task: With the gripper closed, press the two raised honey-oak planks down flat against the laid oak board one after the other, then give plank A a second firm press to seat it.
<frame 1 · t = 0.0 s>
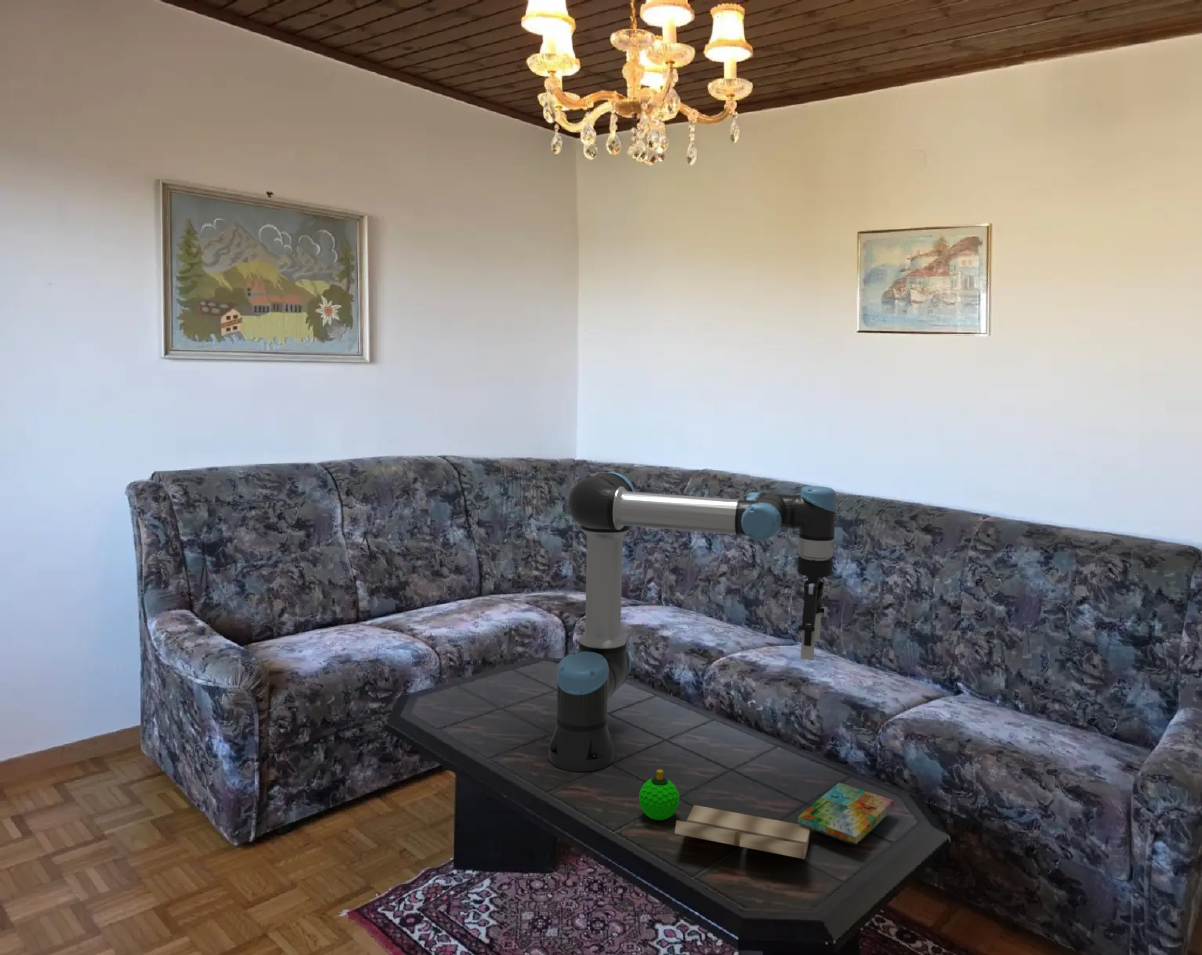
hand: (810, 649, 197), 28 cm above the table, fingers open, 13 cm apart
laid board: (747, 835, 172), on the table
plank b: (773, 845, 162), point 4 cm above the table, hinge at 30.0°
ornament: (658, 818, 178), on the table
puzzle game: (846, 827, 176), on the table, touching laid board
plank a: (708, 833, 165), point 4 cm above the table, hinge at 30.0°
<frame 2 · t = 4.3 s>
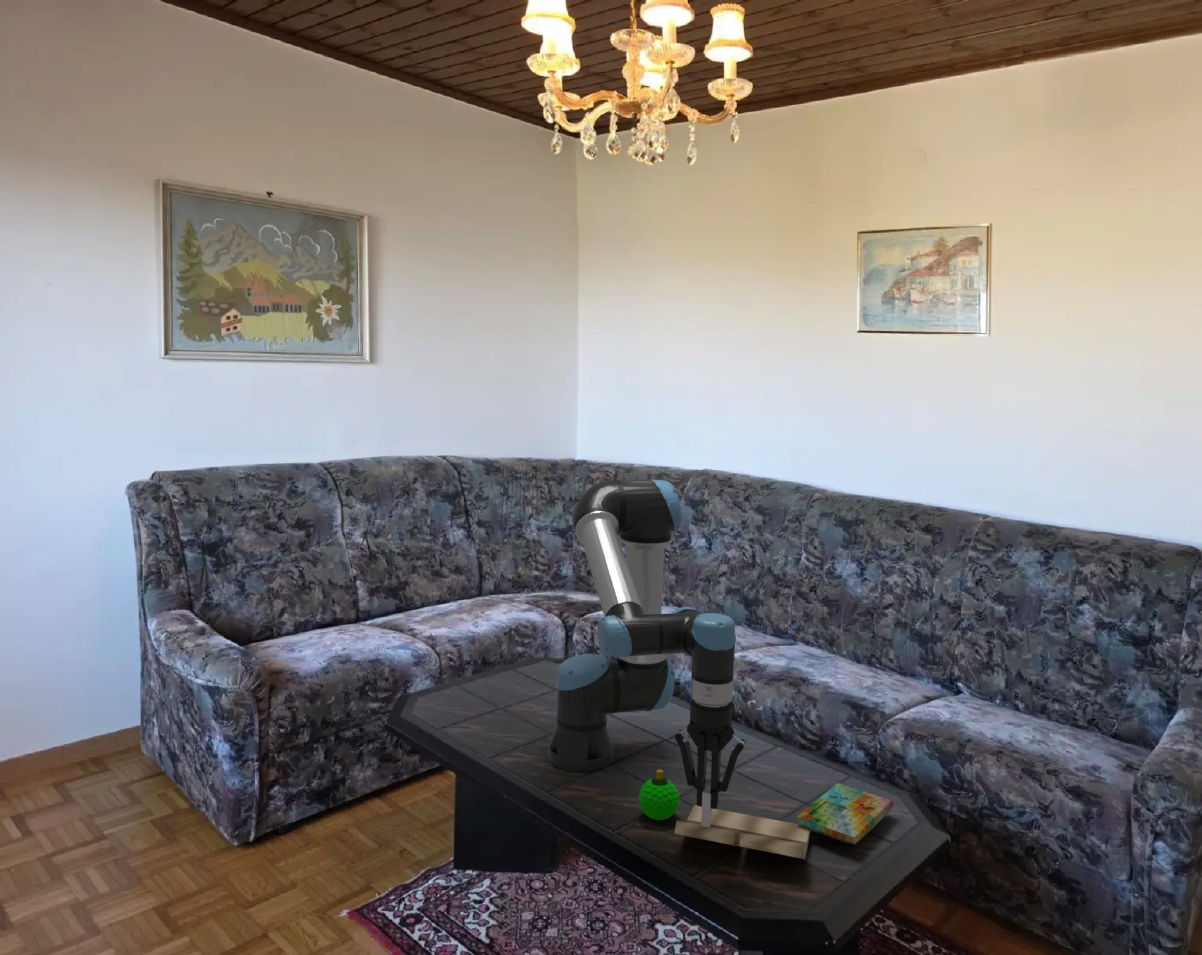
hand: (706, 822, 163), 7 cm above the table, fingers closed
plank a: (708, 833, 165), point 4 cm above the table, hinge at 29.6°, touching gripper
everything else where it was.
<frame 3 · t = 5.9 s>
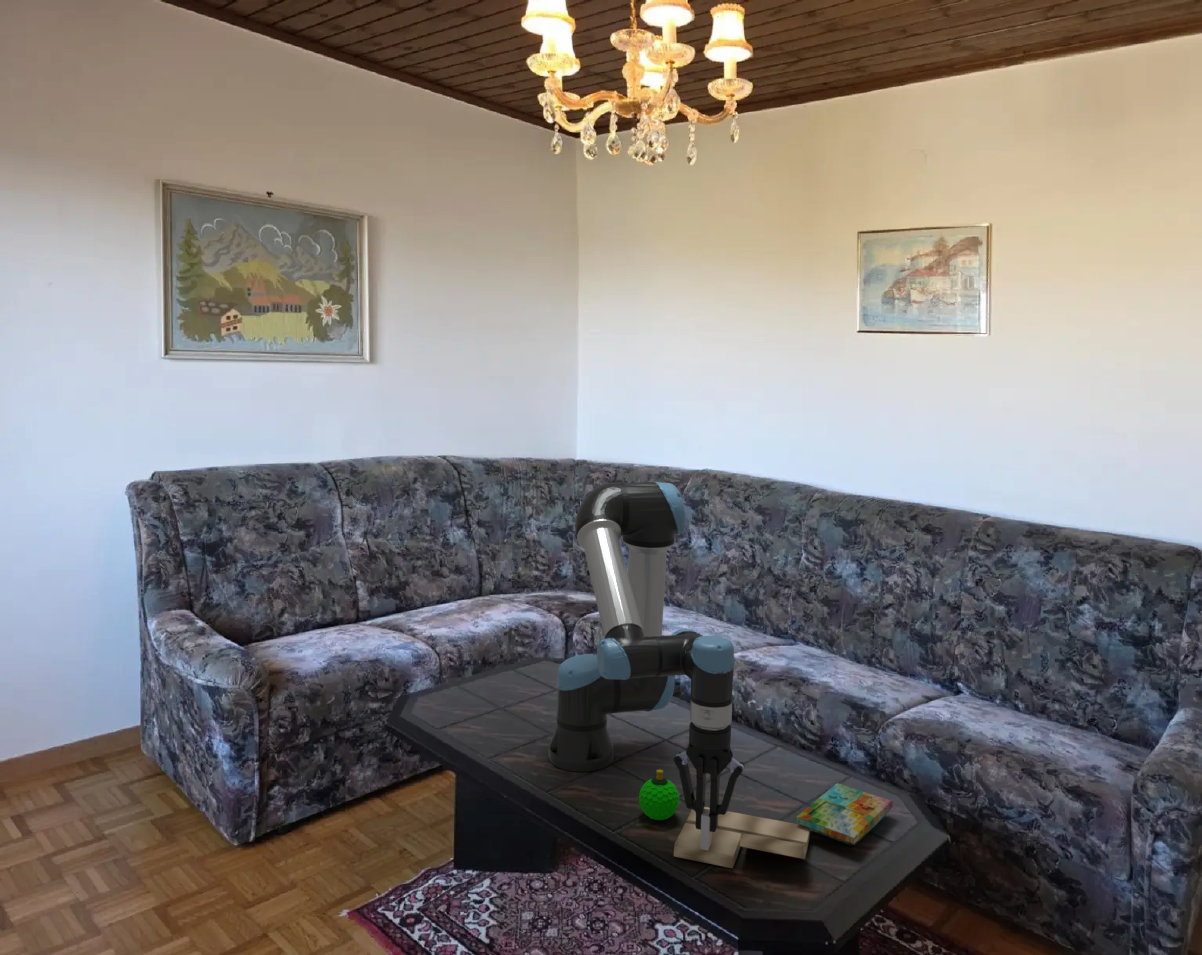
hand: (705, 845, 163), 3 cm above the table, fingers closed
plank a: (708, 844, 166), point 1 cm above the table, hinge at 2.3°, touching gripper
everything else where it was.
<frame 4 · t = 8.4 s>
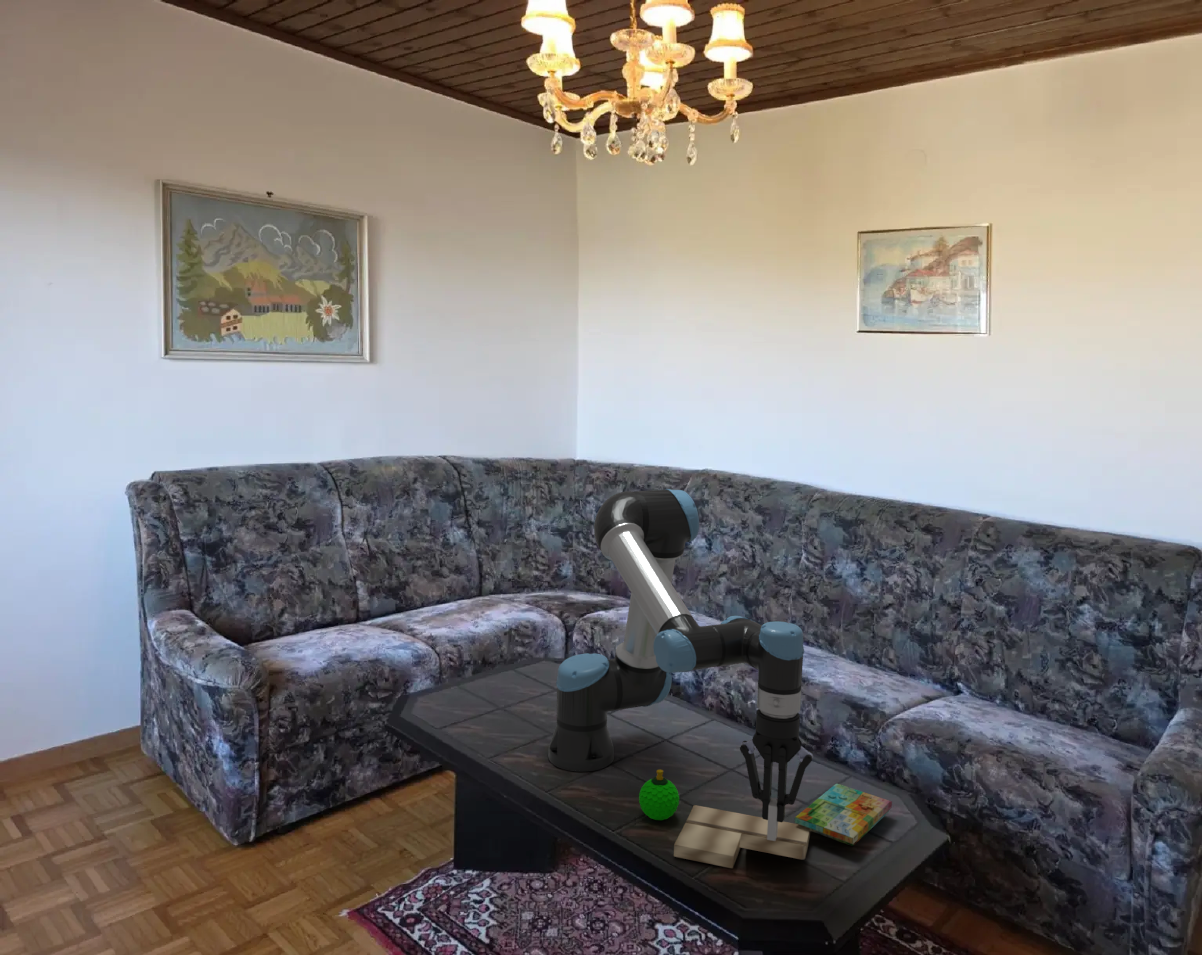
hand: (772, 836, 159), 7 cm above the table, fingers closed
plank b: (773, 846, 162), point 4 cm above the table, hinge at 28.8°, touching gripper
plank a: (708, 844, 166), point 1 cm above the table, hinge at 2.1°
everything else where it was.
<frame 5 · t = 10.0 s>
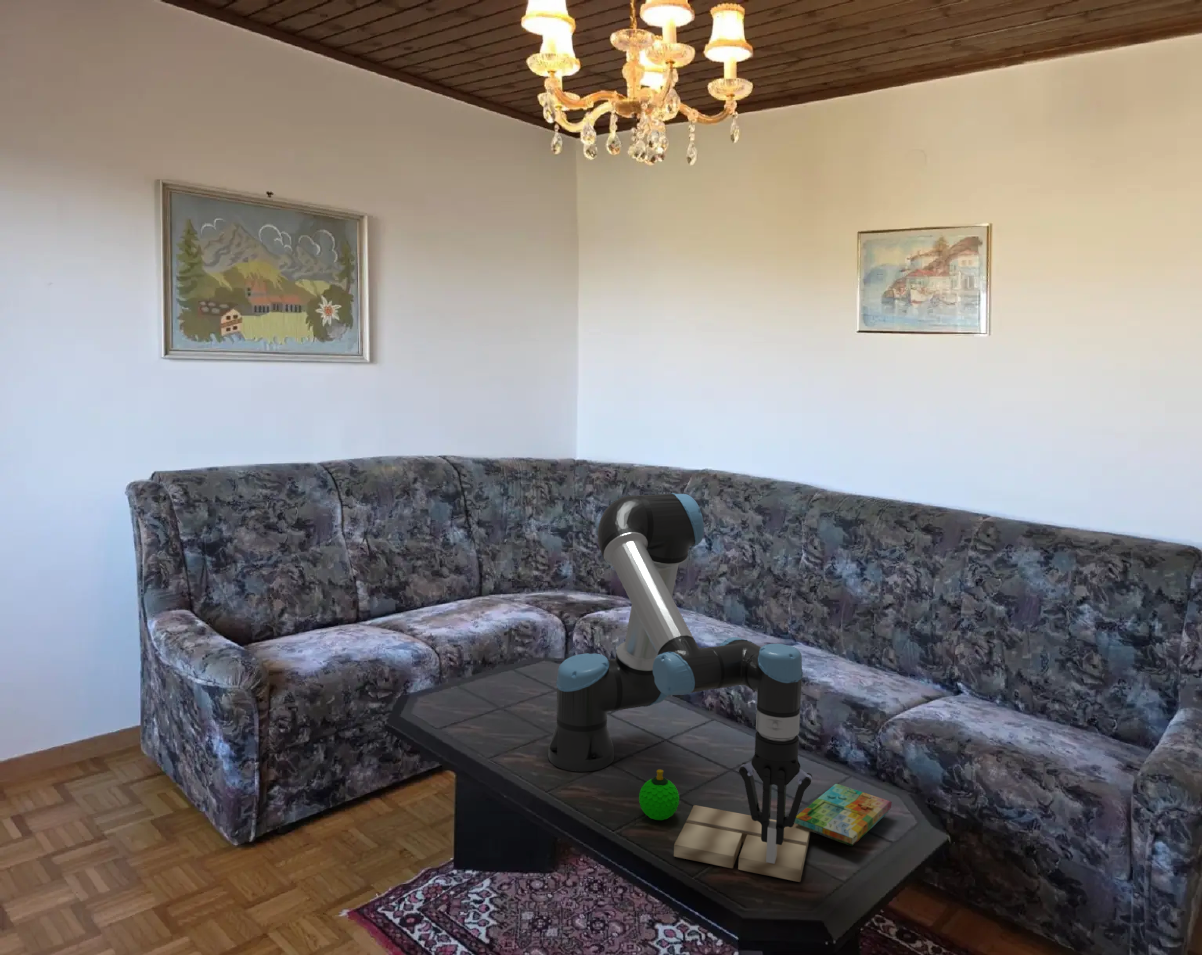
hand: (771, 858, 159), 3 cm above the table, fingers closed
plank b: (772, 857, 162), point 1 cm above the table, hinge at 2.4°, touching gripper
everything else where it was.
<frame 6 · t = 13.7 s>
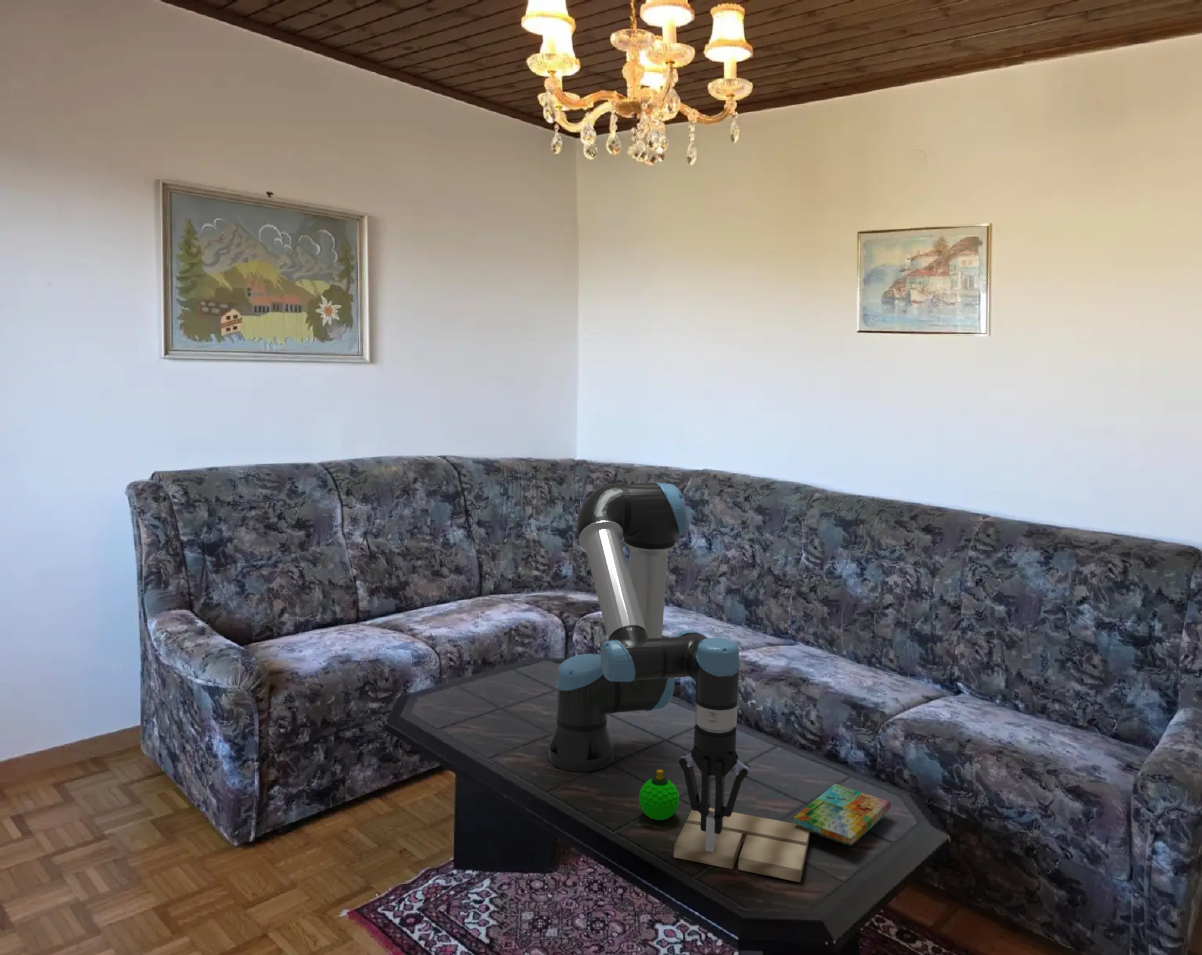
hand: (710, 847, 162), 3 cm above the table, fingers closed
plank b: (772, 857, 162), point 1 cm above the table, hinge at 2.3°
plank a: (708, 844, 166), point 1 cm above the table, hinge at 1.0°, touching gripper
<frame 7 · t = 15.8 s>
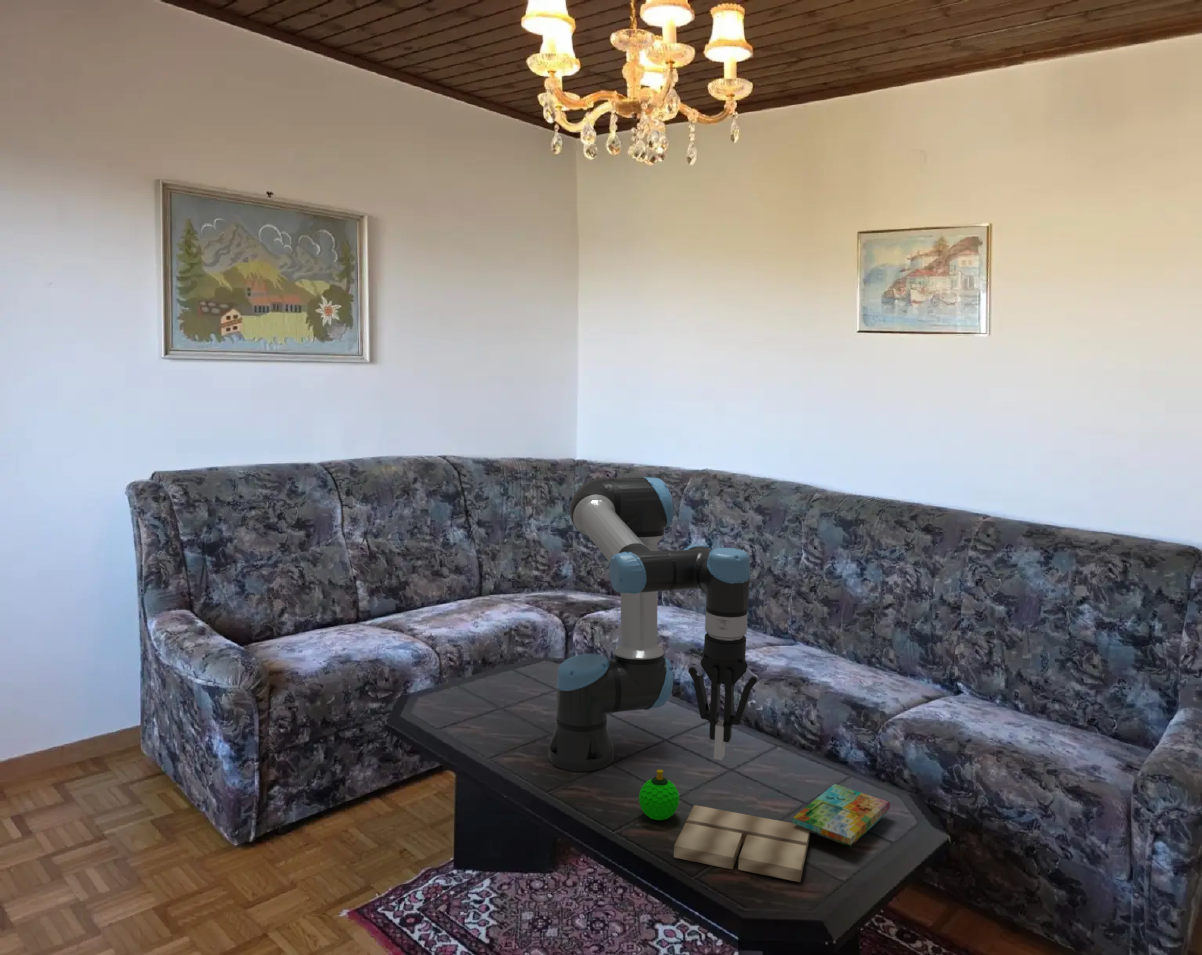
hand: (719, 756, 164), 19 cm above the table, fingers closed
plank a: (708, 845, 166), point 1 cm above the table, hinge at 0.7°
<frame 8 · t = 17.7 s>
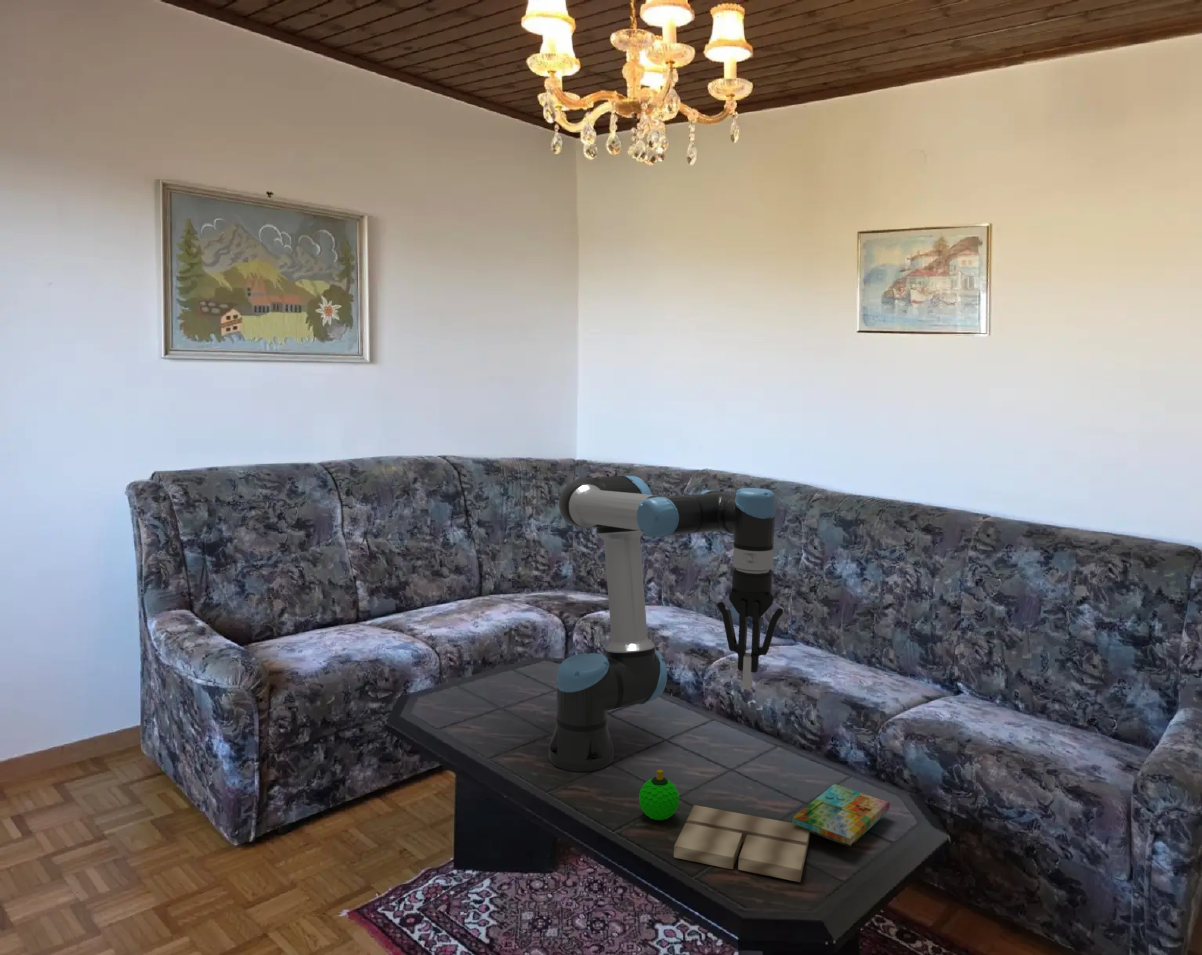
hand: (747, 686, 173), 28 cm above the table, fingers closed
at the end: plank a at +1° (first picture: +30°); plank b at +2° (first picture: +30°) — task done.
